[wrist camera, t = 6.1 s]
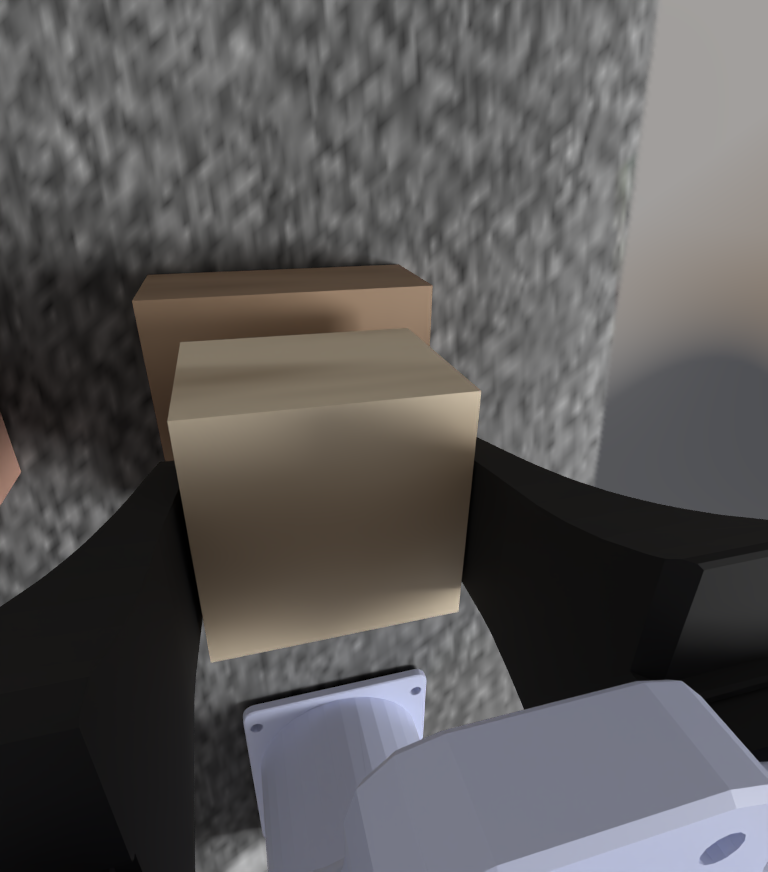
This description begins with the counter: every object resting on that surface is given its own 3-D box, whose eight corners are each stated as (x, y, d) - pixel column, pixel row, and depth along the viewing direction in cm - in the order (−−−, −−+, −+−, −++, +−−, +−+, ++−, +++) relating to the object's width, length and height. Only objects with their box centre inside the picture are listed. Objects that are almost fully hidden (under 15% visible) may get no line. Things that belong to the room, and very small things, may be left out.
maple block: (401, 507, 15) (458, 611, 11) (210, 536, 14) (211, 662, 10) (407, 327, 13) (481, 390, 9) (179, 342, 11) (167, 421, 8)
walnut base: (394, 467, 19) (421, 515, 17) (189, 494, 18) (183, 551, 15) (398, 264, 16) (432, 285, 14) (147, 274, 15) (132, 301, 12)
